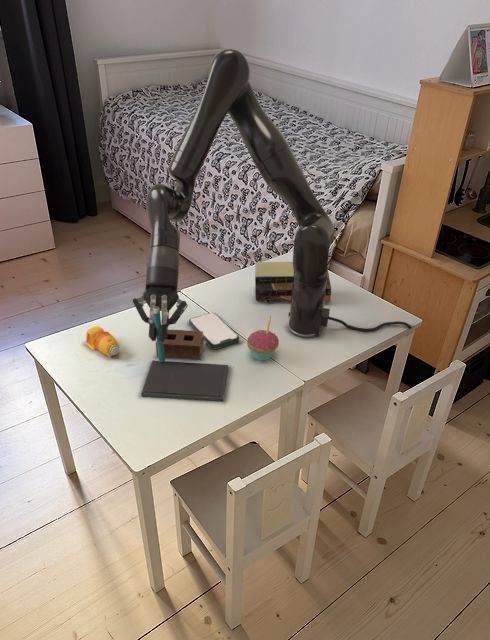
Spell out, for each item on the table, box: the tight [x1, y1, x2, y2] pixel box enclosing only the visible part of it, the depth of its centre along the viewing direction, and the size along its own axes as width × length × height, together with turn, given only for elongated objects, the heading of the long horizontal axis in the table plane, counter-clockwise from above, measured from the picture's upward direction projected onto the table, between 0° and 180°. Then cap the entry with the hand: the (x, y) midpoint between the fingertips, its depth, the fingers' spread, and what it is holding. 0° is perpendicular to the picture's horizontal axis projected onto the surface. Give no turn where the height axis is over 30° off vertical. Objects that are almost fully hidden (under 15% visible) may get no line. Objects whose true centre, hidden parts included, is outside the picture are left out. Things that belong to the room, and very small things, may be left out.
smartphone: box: [188, 312, 240, 350], centre depth 154 cm, size 9×2×16 cm
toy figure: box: [85, 325, 120, 357], centre depth 145 cm, size 5×6×12 cm
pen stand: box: [155, 328, 204, 361], centre depth 146 cm, size 12×7×4 cm, turn 87°
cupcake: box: [246, 315, 280, 361], centre depth 143 cm, size 9×8×12 cm
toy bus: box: [254, 261, 332, 304], centre depth 168 cm, size 10×23×10 cm, turn 89°
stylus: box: [153, 306, 166, 363], centre depth 129 cm, size 2×2×16 cm
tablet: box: [140, 360, 229, 402], centre depth 137 cm, size 20×14×1 cm
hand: (157, 340), depth 127 cm, fingers closed on stylus, 1 cm apart
